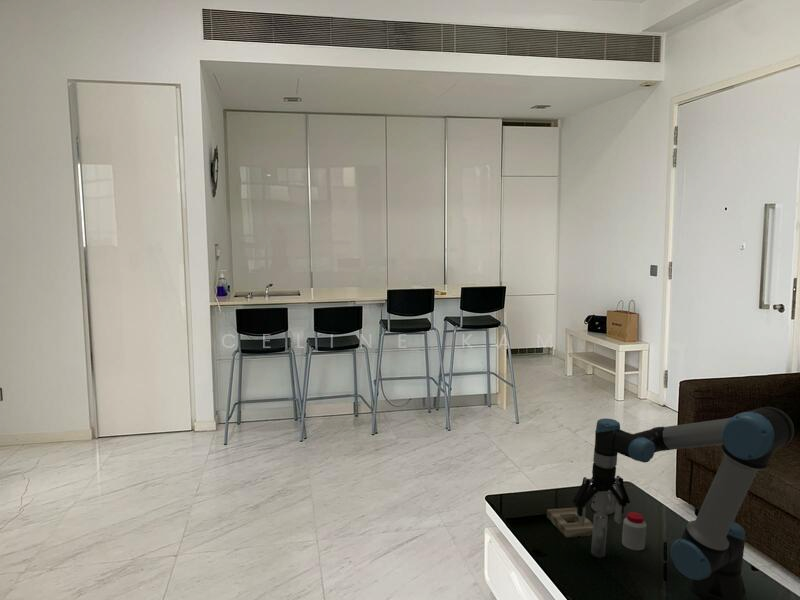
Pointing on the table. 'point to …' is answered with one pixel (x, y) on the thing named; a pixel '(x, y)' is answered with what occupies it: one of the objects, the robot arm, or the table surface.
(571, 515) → the jig
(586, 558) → the table surface
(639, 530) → the pill bottle
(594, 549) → the grey cylindrical peg
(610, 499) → the mug
